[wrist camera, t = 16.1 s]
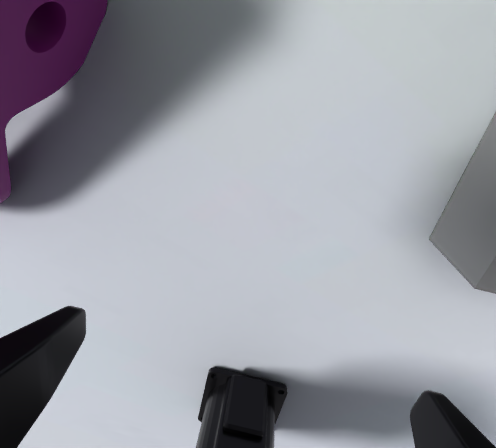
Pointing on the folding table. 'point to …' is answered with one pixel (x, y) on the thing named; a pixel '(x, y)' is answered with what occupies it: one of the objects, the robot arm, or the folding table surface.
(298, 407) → the folding table surface
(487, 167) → the open box
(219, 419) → the robot arm
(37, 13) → the mounting bracket
